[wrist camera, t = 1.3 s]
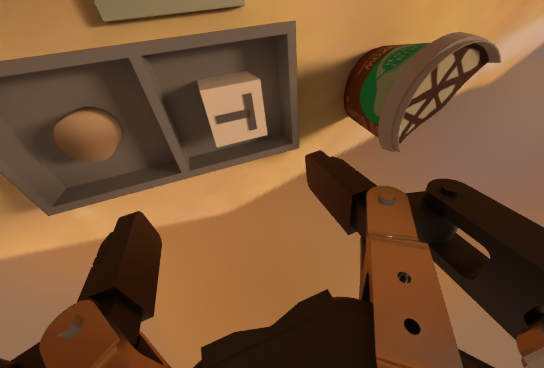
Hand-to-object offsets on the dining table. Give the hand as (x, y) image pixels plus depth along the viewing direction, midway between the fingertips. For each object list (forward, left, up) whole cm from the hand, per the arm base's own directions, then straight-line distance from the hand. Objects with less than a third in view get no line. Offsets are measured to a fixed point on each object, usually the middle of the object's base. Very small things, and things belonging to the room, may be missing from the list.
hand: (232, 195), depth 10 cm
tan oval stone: (0, -10, -15) cm, 18 cm away
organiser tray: (0, -4, -16) cm, 16 cm away
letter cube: (0, +2, -15) cm, 15 cm away
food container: (0, +20, -16) cm, 26 cm away
